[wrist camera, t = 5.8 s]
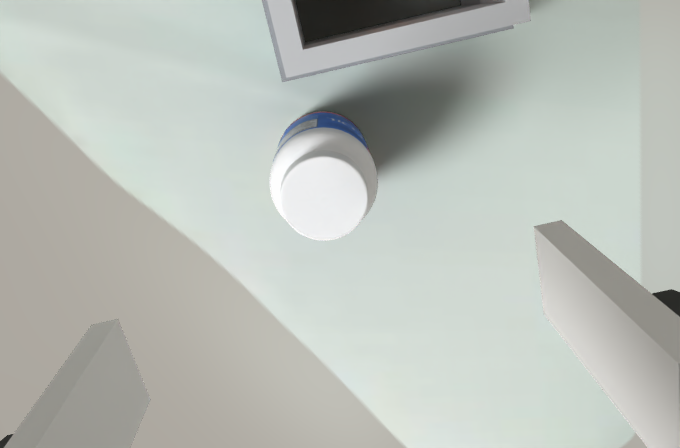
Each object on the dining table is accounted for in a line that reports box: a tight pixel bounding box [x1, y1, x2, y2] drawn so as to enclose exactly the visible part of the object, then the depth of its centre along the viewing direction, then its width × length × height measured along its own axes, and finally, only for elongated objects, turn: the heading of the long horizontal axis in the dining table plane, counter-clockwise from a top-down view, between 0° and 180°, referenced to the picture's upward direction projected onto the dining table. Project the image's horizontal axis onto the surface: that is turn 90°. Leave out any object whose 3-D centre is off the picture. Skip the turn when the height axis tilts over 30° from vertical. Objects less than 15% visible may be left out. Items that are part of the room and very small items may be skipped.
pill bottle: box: [270, 111, 378, 241], centre depth 31 cm, size 6×5×10 cm
